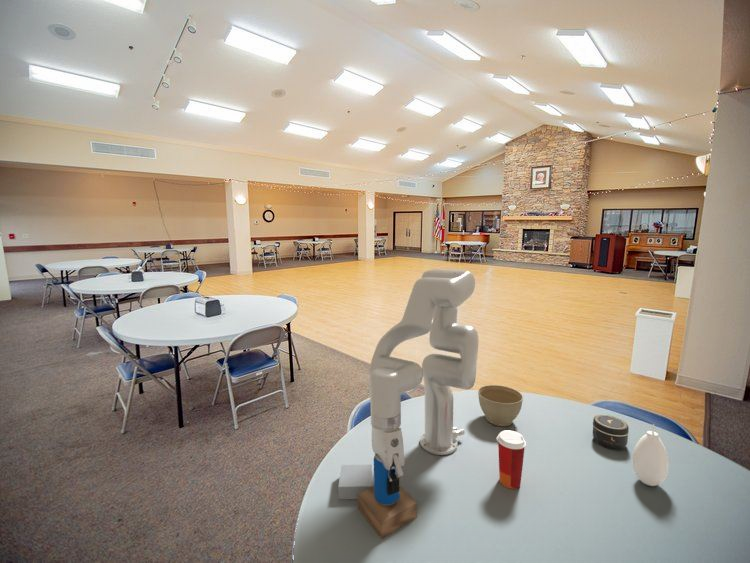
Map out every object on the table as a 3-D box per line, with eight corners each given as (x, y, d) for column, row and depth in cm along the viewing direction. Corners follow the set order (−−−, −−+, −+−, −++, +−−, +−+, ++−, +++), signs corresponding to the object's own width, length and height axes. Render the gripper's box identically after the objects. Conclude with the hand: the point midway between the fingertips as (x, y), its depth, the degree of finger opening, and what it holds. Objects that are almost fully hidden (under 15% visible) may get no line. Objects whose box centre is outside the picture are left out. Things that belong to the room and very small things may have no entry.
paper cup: (523, 476, 101) (525, 431, 99) (525, 494, 93) (527, 446, 92) (495, 470, 103) (496, 427, 101) (495, 488, 96) (496, 441, 94)
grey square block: (371, 476, 102) (371, 464, 101) (371, 499, 93) (371, 486, 92) (341, 477, 102) (341, 465, 101) (338, 500, 93) (338, 486, 92)
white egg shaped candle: (657, 497, 92) (663, 434, 89) (625, 479, 99) (630, 421, 96) (671, 487, 95) (677, 426, 93) (639, 470, 102) (644, 414, 100)
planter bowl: (529, 431, 124) (530, 403, 122) (484, 432, 124) (485, 403, 122) (512, 409, 139) (513, 384, 138) (472, 410, 140) (473, 384, 138)
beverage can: (397, 509, 84) (397, 464, 82) (372, 505, 85) (371, 461, 84) (401, 490, 90) (400, 448, 89) (377, 487, 91) (376, 445, 90)
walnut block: (391, 490, 96) (391, 477, 95) (417, 516, 87) (417, 502, 86) (357, 508, 90) (357, 494, 89) (381, 538, 80) (381, 522, 80)
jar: (595, 447, 114) (596, 426, 113) (589, 432, 123) (590, 412, 122) (631, 454, 110) (633, 432, 109) (622, 437, 119) (623, 417, 118)
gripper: (416, 431, 79) (417, 502, 81) (384, 399, 94) (385, 459, 97) (387, 440, 76) (388, 513, 78) (359, 405, 91) (360, 467, 94)
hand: (386, 482), depth 87 cm, fingers closed on beverage can, 6 cm apart
